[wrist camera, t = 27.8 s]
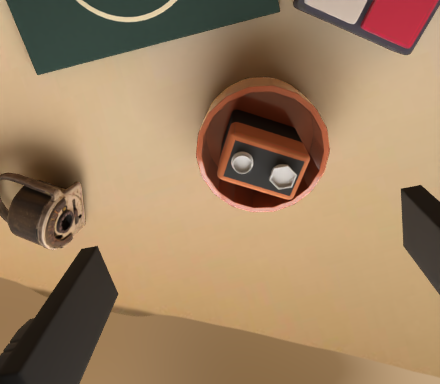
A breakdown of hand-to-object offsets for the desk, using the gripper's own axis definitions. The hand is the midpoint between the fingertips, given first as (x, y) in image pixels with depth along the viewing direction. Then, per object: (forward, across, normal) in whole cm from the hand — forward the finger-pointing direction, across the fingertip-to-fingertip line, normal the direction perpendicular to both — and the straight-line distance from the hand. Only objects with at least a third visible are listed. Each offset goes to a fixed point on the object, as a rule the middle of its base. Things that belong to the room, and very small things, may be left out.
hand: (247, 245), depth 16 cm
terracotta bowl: (+24, +1, -2) cm, 25 cm away
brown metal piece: (+25, -25, -4) cm, 35 cm away
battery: (+24, +1, -2) cm, 24 cm away
